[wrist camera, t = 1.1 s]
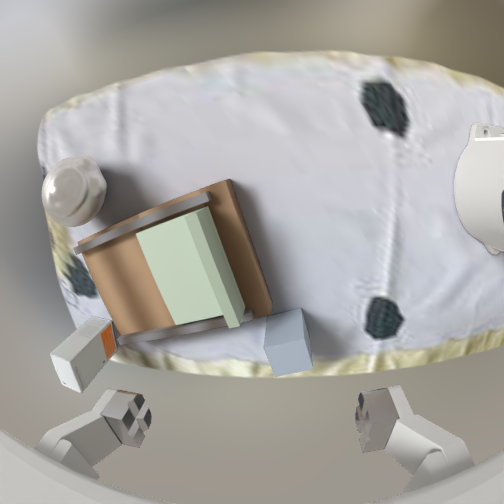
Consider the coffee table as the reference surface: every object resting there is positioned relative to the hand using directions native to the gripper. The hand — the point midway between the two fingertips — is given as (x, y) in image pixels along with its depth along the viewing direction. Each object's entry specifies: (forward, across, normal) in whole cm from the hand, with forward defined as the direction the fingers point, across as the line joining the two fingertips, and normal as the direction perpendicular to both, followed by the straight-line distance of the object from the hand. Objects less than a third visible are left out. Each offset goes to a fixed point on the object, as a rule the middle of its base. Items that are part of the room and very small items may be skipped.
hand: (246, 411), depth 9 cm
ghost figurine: (+26, +23, -10) cm, 35 cm away
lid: (+22, +9, +2) cm, 24 cm away
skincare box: (+26, +28, +13) cm, 40 cm away
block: (+25, -2, +12) cm, 28 cm away
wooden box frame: (+25, +13, +3) cm, 28 cm away
